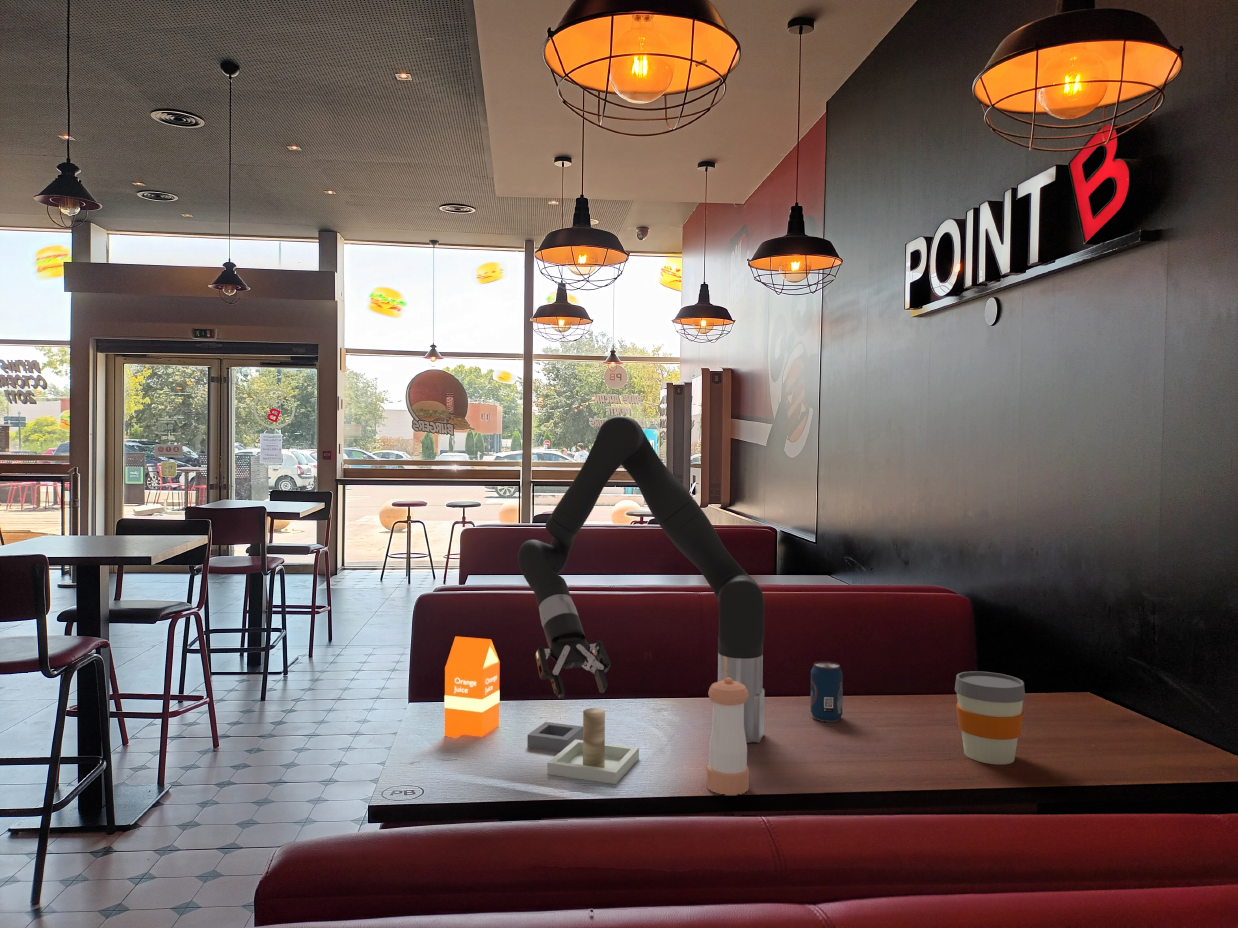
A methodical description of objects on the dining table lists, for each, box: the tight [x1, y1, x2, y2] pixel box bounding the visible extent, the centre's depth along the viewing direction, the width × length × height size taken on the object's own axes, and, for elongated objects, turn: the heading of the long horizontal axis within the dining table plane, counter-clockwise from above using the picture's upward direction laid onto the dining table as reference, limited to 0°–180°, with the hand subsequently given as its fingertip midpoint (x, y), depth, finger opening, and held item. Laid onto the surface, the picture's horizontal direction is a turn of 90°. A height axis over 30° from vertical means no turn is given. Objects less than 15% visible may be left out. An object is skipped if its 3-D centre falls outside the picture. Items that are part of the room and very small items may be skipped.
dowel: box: [582, 707, 606, 768], centre depth 146 cm, size 4×4×10 cm
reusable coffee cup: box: [954, 670, 1026, 765], centre depth 156 cm, size 13×13×15 cm
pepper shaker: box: [706, 677, 750, 796], centre depth 139 cm, size 7×7×19 cm
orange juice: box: [444, 636, 501, 739], centre depth 166 cm, size 8×9×20 cm
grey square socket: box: [526, 721, 583, 753], centre depth 158 cm, size 8×8×4 cm
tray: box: [546, 739, 640, 785], centre depth 146 cm, size 13×13×3 cm
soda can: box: [810, 661, 844, 723], centre depth 178 cm, size 7×7×12 cm
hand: (583, 693), depth 151 cm, fingers open, 8 cm apart
